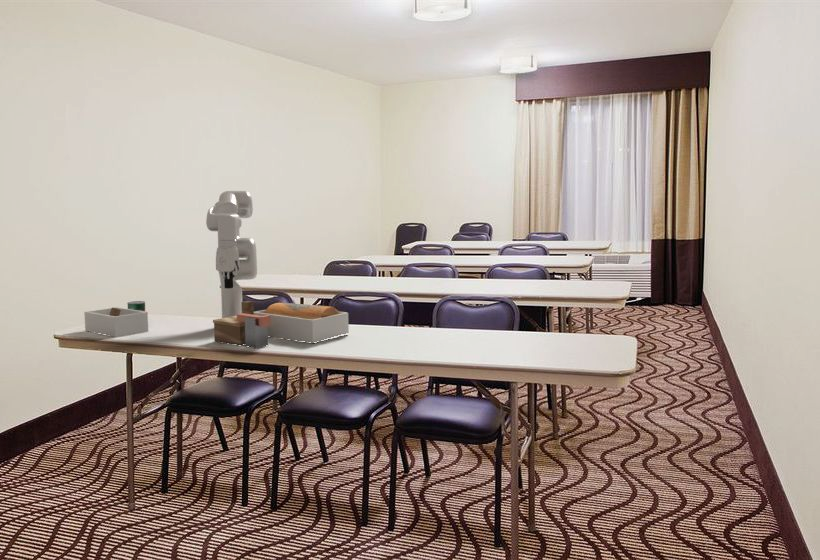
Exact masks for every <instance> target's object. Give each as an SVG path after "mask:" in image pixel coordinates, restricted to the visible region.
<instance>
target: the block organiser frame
mask: <svg viewBox="0 0 820 560" xmlns="http://www.w3.org/2000/svg"><path fill="white" fill-rule="evenodd" d="M111 308H112V307H110V308H102V309H95V310H89V311H84V313H83V315H84V328H85V329H84V330H85V332H86V331H89V332H88V333H91V332H95V333H94V334H96V333H101V334H106V335H110V336H109V337H111V336H114V337H113V338H119V337H118V336H121V337H125V336H124V335H127V336H132V335H138V334H143V333H148V332H149V317H148V315H149V314H148V311H145V312H144V311H138V310H131V309H128V308H126V307H125V308H124V307H119V306H118V307H117V306H115V307H114V308H117V309H120V310H121V312H120V315H119V316H110V312H111ZM101 334H100V335H101ZM131 334H132V335H131ZM106 335H105V336H106Z"/></svg>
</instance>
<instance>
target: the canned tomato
mask: <svg viewBox="0 0 820 560" xmlns="http://www.w3.org/2000/svg"><path fill="white" fill-rule="evenodd" d="M126 303H127V309H131V310H138V311H144V312H146V301H144V300H143V301H142V300H134V301H128V302H126Z"/></svg>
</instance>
